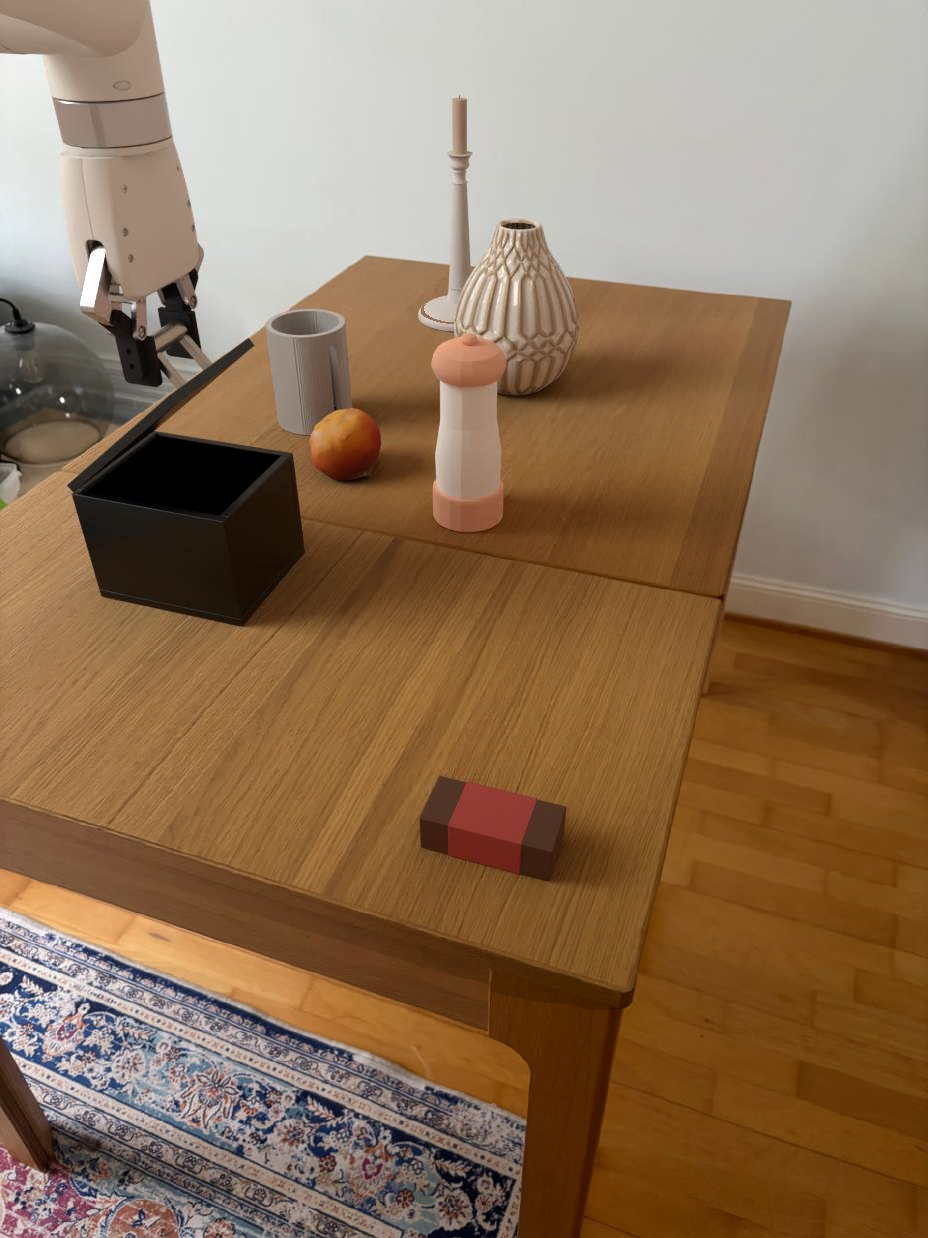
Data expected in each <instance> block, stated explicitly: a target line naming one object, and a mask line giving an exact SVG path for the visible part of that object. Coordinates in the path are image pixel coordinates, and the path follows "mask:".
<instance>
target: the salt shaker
mask: <svg viewBox="0 0 928 1238" xmlns="http://www.w3.org/2000/svg"><path fill="white" fill-rule="evenodd" d="M430 367H431V369H432V372H433V373H434V375H435V377H436V379H437V380H438V381H439V413H440V414H439V416H440V417H439V418H440V420H439V427H438V434H437V440H436V446H435V452H434V459H435V462H434V463H435V477H436V478H435V479H434V481H433V483H432V484H433V485H432V517H433V519H434V521H435V522H436V523H437V524H438V525H440V526H441V527H444V528H446V529H447V530H450V531H456V532H459V533H475V532H483V531H486V530H490V529H492V528H494V527H495V526H497V525H498V524H499V523H500V522H501V521H502V520H503V517H504V493H505V492H504V487H505V485H504V482H503V481H502V479H501V468H502V455H503V454H502V451H503V450H502V446H501V445H502V444H501V439H500V430H499V425H498V417H497V416H498V415H497V414H498V411H497V410H498V393H497V381H498V380H499V379H500V378H501V377H502V375H503V373H504V371H505V368H506V359H505V355H504V353H503V352H502V350H501V349H500V347H499V346H498V345H497V344H496V343H494V342H492V341H489V340H486V339H483V338H480V337H476V335H475V334H473V333H465V334H463V335H462V336H461V337H458V338H450V339H449V340H446V341H443V342H441V343H440V344H439V345H438V346H437V348H436V349H435V350H434V351H433V355H432V359H431V362H430Z"/></svg>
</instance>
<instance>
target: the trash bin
mask: <svg viewBox="0 0 928 1238" xmlns="http://www.w3.org/2000/svg"><path fill="white" fill-rule="evenodd" d="M71 498H72V500H73V503H74V507H75V511H76V515H77V518H78V522H79V524H80V528H81V532H82V535H83V539H84V542H85V545H86V549H87V552H88V556H89V559H90V563H91V566H92V570H93V573H94V576H95V581H96V583H97V587H98V589H99V593H100V596H101V597H102V598H108V599H112V600H117V601H120V602H126V603H131V604H135V605H140V606H145V607H149V608H155V609H158V610H164V611H167V612H168V611H169V612H173V613H176V614H177V613H178V614H182V615H187V616H192V617H196V618H200V619H205V620H211V621H215V622H219V623H225V624H229V625H233V626H238V627H243V626H244V625H245V624H246V623H247V622H248V621H249V619H250V618H251V617H252V616H253V615H254V614H255V612H256V611H257V610H258V609H259V608H260V606H261V605H262V604H263V603H264V601H265V600H266V599H267V598H268V597H269V595H271V593H272V592H273V591H274V590H275V588H276V587H277V586H278V585H279V584H280V583H281V581H282V580H283V579H284V578H285V577H286V576H287V574H288V573H289V572H290V570H291V569H292V568H294V566H295V564H297V562H298V561H299V560H300V559H301V557H302V556H303V555H304V554H305V553H306V549H305V541H304V540H305V539H304V533H303V532H304V531H303V523H302V515H301V509H300V508H301V507H300V499H299V492H298V484H297V476H296V469H295V460H294V454H293V452H288V451H281V450H276V449H271V448H264V447H258V446H251V445H245V444H238V443H232V442H226V441H220V440H214V439H208V438H202V437H195V436H190V435H189V436H188V435H182V434H176V433H170V432H164V431H159V430H158V431H157V430H155V431H154V432H152V433H151V434H150V435H148V436H147V437H146V438H144V439H143V440H142V441H141V442H139V443H138V444H137V445H135V446H134V447H133V448H131V449H130V450H129V451H127V452H126V453H125V454H123V455H122V456H121V457H120V458H118V459H117V460H116V461H114V462H113V463H112V464H110V465H109V466H108V467H106V468H105V469H104V470H103V471H101V472H100V473H99V474H97V475H96V476H95V477H93V478H92V479H91V480H89V481H88V482H87V483H86V484H84V485H83V486H82V487H80V488H79V489H78V490H76V491H75V492H72V493H71Z"/></svg>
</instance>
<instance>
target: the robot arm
mask: <svg viewBox="0 0 928 1238" xmlns="http://www.w3.org/2000/svg"><path fill="white" fill-rule="evenodd" d="M152 13H153V12H152V7H151V0H0V54H4V55H5V54H6V55H8V54H9V55H23V56H24V55H40V56H41V57H42V62H43V67H44V70H45V74H46V78H47V82H48V86H49V91H50V96H51V98H52V103H53V107H54V112H55V116H56V121H57V124H58V128H59V129H58V130H59V133H60V136H61V141H62V146H63V150H64V151H62V152H60V153H59V155H58V158H59V159H58V160H59V161H58V162H59V169H58V170H59V183H60V197H61V204H62V205H61V206H62V211H63V217H64V218H63V219H64V224H65V230H66V236H67V242H68V247H69V252H70V257H71V262H72V265H73V270H74V275H75V278H76V282H77V285H78V288H79V290H80V292H81V298H80V302H79V311H80V312H81V313H82V314H83V315H85V316H87V317H88V318H90V319H92V320H94V321H96V322H97V323H98V324H99V325H101V327H103V328H104V329H105V330H106V332H107V334H108V335H109V336H110V337H112V338H113V337H114V339H115V343H116V348H117V352H118V356H119V361H120V365H121V370H122V373H123V378H124V380H125V382H126V383H128V384H132V385H138V386H145V387H152V388H158V387H160V386H162V384H163V383H164V382H163V381H164V379H163V375H162V371H161V369H160V364H159V359H158V355H157V350H156V345H155V340H154V337H153V336H149V335H148V319H147V318H148V317H147V316H148V315H147V297H149V296H150V295H152V294H154V293H157V295H158V298H159V301H160V303H161V304H162V306H159V307H158V308H157V312H158V313H157V315H158V319H159V320H158V321H159V325H160V328H162V327H163V326H165V325H166V324H168V323H170V322H171V321H173V320H175V319H181V320H183V321H184V322H185V323H186V324H187V326H188V328H189V334H188V335H189V336H190V337H191V338H192V340H193V341H194V342H195V343H196V344H197V346H198V347H199V348H200V349H201V350H202V344H201V343H202V342H201V338H200V332H199V327H198V321H197V315H196V311H195V309H197V307H198V301H199V300H198V296H197V294H196V288H197V285H198V281H199V272H200V269H201V266H202V263H203V260H204V257H205V251H204V248H203V247H202V246H201V244H200V243H199V242H198V235H197V229H196V224H195V217H194V213H193V209H192V205H191V204H192V203H191V197H190V193H189V191H188V186H187V183H186V182H187V181H186V177H185V175H184V171H183V167H182V163H181V161H180V158H179V154H178V151H177V146H176V145H175V141H174V135H173V130H172V124H171V118H170V112H169V107H168V106H169V105H168V101H167V94H166V88H165V83H164V82H165V81H164V76H163V71H162V65H161V60H160V54H159V46H158V42H157V36H156V30H155V24H154V18H153V14H152ZM120 288H121V291H122V292H120ZM123 304H128V305H130V316H129V315H128V314H126V313H125V312H124V311H123V306H122V305H123ZM202 351H203V350H202ZM165 354H166V355H167V356H169V357H172V358H181V359H188V360H194V359H193V357H192V356H191V355H190V354H189V353H188V351H187V350H186V349H185V348H184V347H183V345H182V344H181V343H180V342H178V343H177V344H175V345H173V346H172V347H170V348H169V349H167V350H166V351H165Z"/></svg>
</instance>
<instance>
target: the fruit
mask: <svg viewBox="0 0 928 1238" xmlns="http://www.w3.org/2000/svg"><path fill="white" fill-rule="evenodd" d="M308 447H309V451H310V457H311V462H312V464H313V466H314V467H315V468H316V469H317V470H318V471H319V472H321V473H322V474H323V475H325V476H327V478H328V477H329V478H330V479H333V480H336V481H353V480H355V479H359V478H363V477H368V478H372V472H373V469H374V466H375V464H376V462H377V463H381V460H378V459H379V456H380V452H381V447H382V435H381V430H380V427H379V426H378V424H377V422H376V421H375V420H374V418H373V417H372V416H371V415H369V414H367V412H365V411H364V410H362V409H359V408H354V407H352V408H350V409H343V410H337V409H336V410H334V412H333V413H331V414H329V415H327V416H326V417H325V418H324V419H323V420H322V421H320V422H319V423H318V424H316V425H315V427H314V430H313V432H312V433H311V435H309V442H308Z"/></svg>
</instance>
